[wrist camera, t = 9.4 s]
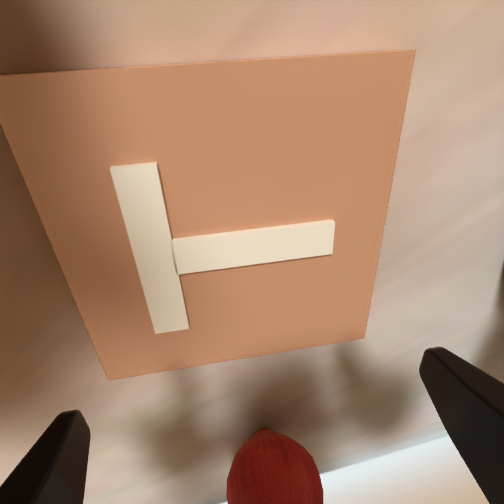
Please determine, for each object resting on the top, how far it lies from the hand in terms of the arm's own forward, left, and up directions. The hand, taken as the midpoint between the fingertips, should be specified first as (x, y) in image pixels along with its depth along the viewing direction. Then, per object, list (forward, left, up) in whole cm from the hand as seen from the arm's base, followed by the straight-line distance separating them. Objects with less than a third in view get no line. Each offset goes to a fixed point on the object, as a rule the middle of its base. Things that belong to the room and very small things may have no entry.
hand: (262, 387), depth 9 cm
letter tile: (0, 0, -8) cm, 8 cm away
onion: (-1, +16, -8) cm, 18 cm away
